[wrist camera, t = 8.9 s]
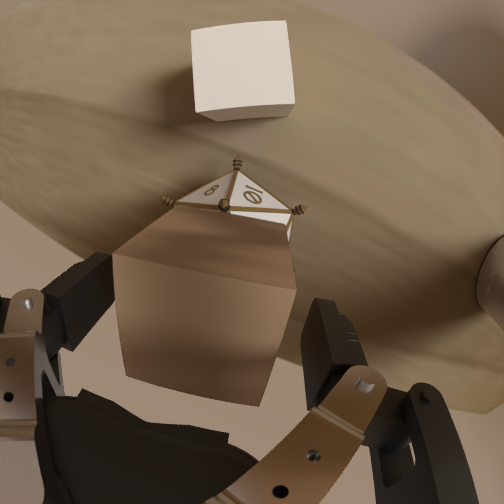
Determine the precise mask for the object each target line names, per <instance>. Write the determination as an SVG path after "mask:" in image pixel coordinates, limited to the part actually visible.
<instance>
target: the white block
mask: <svg viewBox="0 0 504 504" xmlns="http://www.w3.org/2000/svg"><path fill="white" fill-rule="evenodd" d="M191 42H192V64H193V81H194V97H195V110H196V113H198V114H201V115H203V116H205V117H208V118H210V119H212V120H215V121H217V122H219V121H228V120H238V119H249V118H263V117H284V116H288V115H289V113H290V112H291V110H292V108H293V106H294V105H295V98H294V87H293V77H292V67H291V58H290V49H289V41H288V33H287V25H286V21H262V22H248V23H238V24H229V25H222V26H215V27H209V28H203V29H197V30H192V31H191Z"/></svg>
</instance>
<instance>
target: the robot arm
mask: <svg viewBox="0 0 504 504" xmlns="http://www.w3.org/2000/svg"><path fill="white" fill-rule="evenodd" d="M476 294H477V300H478V303H479V304H480V306H481V307H482V308H483V309H484V310H485V311H486V312H487V313H488V314H489V315H490V316H491V317H492V318H493V320H494V321H495V322H496V323H497V324H498V325H499V326H500V327H501V329H502V330H503V331H504V237H502V238H501V239H500V240H499V241H498V242H497V243H496V244H495V245H494V246H493V247H492V249H491V250H490V252H489V253H488V255H487V257H486V258H485V261H484V263H483V265H482V267H481V270H480V273H479V276H478V281H477V288H476ZM114 300H115V292H114V278H113V258H112V255H109V254H105V253H101V252H96V253H94V254H93V255H91V256H90V257H89V258H87V259H86V260H84V261H82V262H79V263H77V264H74V265H73V266H71V267H70V268H69V269H67V271H65V272H64V273H62V274H61V275H60V276H58V277H57V278H56V279H55V280H53V281H52V282H51V283H50V284H48V285H47V286H46V287H45V288H43V289H42V290H41V291H39V290H36V289H26V290H22V291H20V292H18V293H16V294H15V295H14V296H13V297H12V298H11V299H9V298H3V297H1V296H0V504H319V503H320V502H321V500H322V499H323V498H324V497H325V496H326V494H327V493H328V492H329V490H330V489H331V487H332V486H333V485H334V484H335V482H336V481H337V480H338V478H339V477H340V475H341V474H342V473H343V471H344V470H345V468H346V467H347V465H348V464H349V462H350V461H351V459H352V458H353V456H354V455H355V453H356V451H357V450H358V448H359V447H360V445H364V446H368V447H369V448H370V455H371V463H372V471H373V479H374V486H375V497H376V504H479V502H478V498H477V494H476V490H475V486H474V482H473V479H472V475H471V472H470V468H469V465H468V462H467V459H466V456H465V453H464V450H463V447H462V444H461V441H460V439H459V436H458V433H457V430H456V428H455V425H454V423H453V420H452V418H451V415H450V413H449V410H448V408H447V406H446V403H445V401H444V399H443V396H442V395H441V393H440V392H439V391H438V390H437V389H436V388H435V387H433V386H432V385H430V384H427V383H416V384H414V385H413V386H412V387H411V389H410V390H409V391H408V392H404V391H400V390H397V389H393V388H390V387H387V382H386V380H385V378H384V377H383V375H382V374H381V373H379V372H378V371H377V370H375V369H373V368H371V367H368V364H367V361H366V358H365V356H364V353H363V350H362V347H361V345H360V342H359V339H358V337H357V335H356V331H355V329H354V326H353V324H352V323H351V322H350V321H349V320H348V318H347V317H346V316H345V315H339V312H338V309H337V306H336V304H335V302H334V301H332V300H326V299H320V298H315V299H314V300H313V302H312V305H311V308H310V311H309V314H308V317H307V320H306V322H305V325H304V328H303V331H302V335H301V353H302V362H303V371H304V381H305V391H306V402H307V410H308V411H310V412H309V413H308V414H307V415H306V416H305V417H304V418H303V419H302V420H301V421H300V422H299V423H298V424H297V425H296V426H295V428H294V429H293V430H292V431H291V432H290V433H289V434H288V435H287V436H286V437H285V438H284V439H283V440H282V441H281V442H279V443H278V444H277V445H276V446H275V447H274V448H273V449H272V450H271V451H270V452H269V453H268V454H267V455H266V456H265V457H264V458H262V459H261V460H260V461H258V460H257V459H255V458H254V457H253V456H251V455H250V454H248V453H247V452H245V451H244V450H242V449H240V448H238V447H236V446H233V445H231V444H229V443H228V437H229V433H225V432H220V431H214V430H209V429H204V428H200V427H195V426H191V425H177V424H160V423H150V422H146V421H144V420H142V419H140V418H138V417H137V416H135V415H133V414H132V413H130V412H129V411H127V410H126V409H124V408H123V407H121V406H119V405H118V404H116V403H115V402H113V401H111V400H108V399H106V398H103V397H101V396H99V395H96V394H94V393H92V392H89V391H87V390H85V389H82V390H81V391H80V393H79V394H78V396H77V397H72V396H65V393H64V386H63V378H62V368H61V357H60V353H59V350H60V349H61V347H63V348H65V349H67V350H70V351H74V350H75V348H76V347H77V346H78V345H79V343H80V342H81V341H82V340H83V338H84V337H85V336H86V335H87V333H88V332H89V331H90V330H91V329H92V327H93V326H94V325H95V324H96V323H97V321H98V320H99V319H100V318H101V316H102V315H103V314H104V313H105V312H106V311H107V309H108V308H109V307H110V306H111V305H112V304H113V302H114ZM411 442H412V446H413V450H414V454H415V460H416V461H415V466H414V462H413V458H412V454H411V449H410V445H409V444H410V443H411Z"/></svg>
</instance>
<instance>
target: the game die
mask: <svg viewBox="0 0 504 504" xmlns="http://www.w3.org/2000/svg"><path fill="white" fill-rule="evenodd" d="M233 162H234V164H233V165H234V170H232V171H230V172H228V173H226V174H224V175H222V176H220V177H219V178H217V179H215V180H213V181H211V182H209V183H207V184H205V185H203V186H202V187H200V188H198V189H196V190H194V191H192V192H191V193H189V194H187V195H185V196H183V197H182V198H180V199H178V200H176V201H173V200H172V198H170V197H168V196H160V197H161V199H162V201H163V204H164V203H165V204H167V206H168V205H171V206H172V209H173V208H174V207H175V206H177V205H183V206H189V207H195V208H201V209H207V210H213V211H219V212H224V213H230V214H235V215H241V216H246V217H252V218H257V219H262V220H267V221H273V222H278V223H283V224H285V225H286V230H287V236H288V241H289V243H290V238H291V232H292V226H293V220H294V215H296V214H299V215H300V214H302V213H303V214H304V211H305V210H306V209H307V207H308V206H302V205H299V206H298V207H297V206H296V207H295V208H294V209H291V208H290V207H288V206H287V205H286V204H285V203H283V202H282V201H281V200H279V199H278V198H277V197H275V196H274V195H273V194H272V193H270V192H269V191H268V190H266V189H265V188H264V187H262V186H261V185H260V184H258V183H257V182H256V181H254V180H253V179H251V178H250V177H249V176H247V175H246V174H245V173H243V172H242V171H240V167H241V166H242V165H241V162H242V161H241V159H240V157H239V156H237V157H236V158H235V160H234V161H233ZM293 270H294V268H293ZM294 272H295V270H294Z"/></svg>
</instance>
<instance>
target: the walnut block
mask: <svg viewBox="0 0 504 504" xmlns="http://www.w3.org/2000/svg"><path fill="white" fill-rule="evenodd" d="M112 258H113V278H114V292H115V302H116V313H117V321H118V328H119V336H120V343H121V350H122V356H123V362H124V367H125V372H126V376H128V377H131V378H134V379H138V380H141V381H144V382H147V383H150V384H154V385H157V386H161V387H164V388H168V389H172V390H176V391H180V392H184V393H188V394H192V395H196V396H201V397H206V398H210V399H215V400H221V401H226V402H232V403H238V404H244V405H250V406H258V407H259V406H260V403H261V400H262V397H263V394H264V391H265V388H266V386H267V383H268V380H269V377H270V374H271V371H272V368H273V365H274V362H275V359H276V356H277V353H278V350H279V347H280V344H281V341H282V338H283V334H284V331H285V328H286V325H287V321H288V318H289V315H290V312H291V308H292V305H293V301H294V298H295V295H296V291H297V288H296V282H295V276H294V270H293V264H292V258H291V253H290V247H289V241H288V236H287V230H286V225H285V224H283V223H278V222H273V221H267V220H262V219H257V218H252V217H246V216H241V215H235V214H230V213H224V212H219V211H213V210H207V209H201V208H195V207H189V206H183V205H177V206H175V207H174V208H173V209H171V210H170V211H168V212H167V213H165V214H164V215H163V216H161V217H160V218H158V219H157V220H156V221H154V222H153V223H152V224H150V225H149V226H147V227H146V228H145V229H143V230H142V231H141V232H139V233H138V234H137V235H135V236H134V237H133V238H131V239H130V240H129V241H127V242H126V243H125V244H123V245H122V246H121V247H120V248H118V249H117V250H116V251H114V252H113V253H112Z"/></svg>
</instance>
